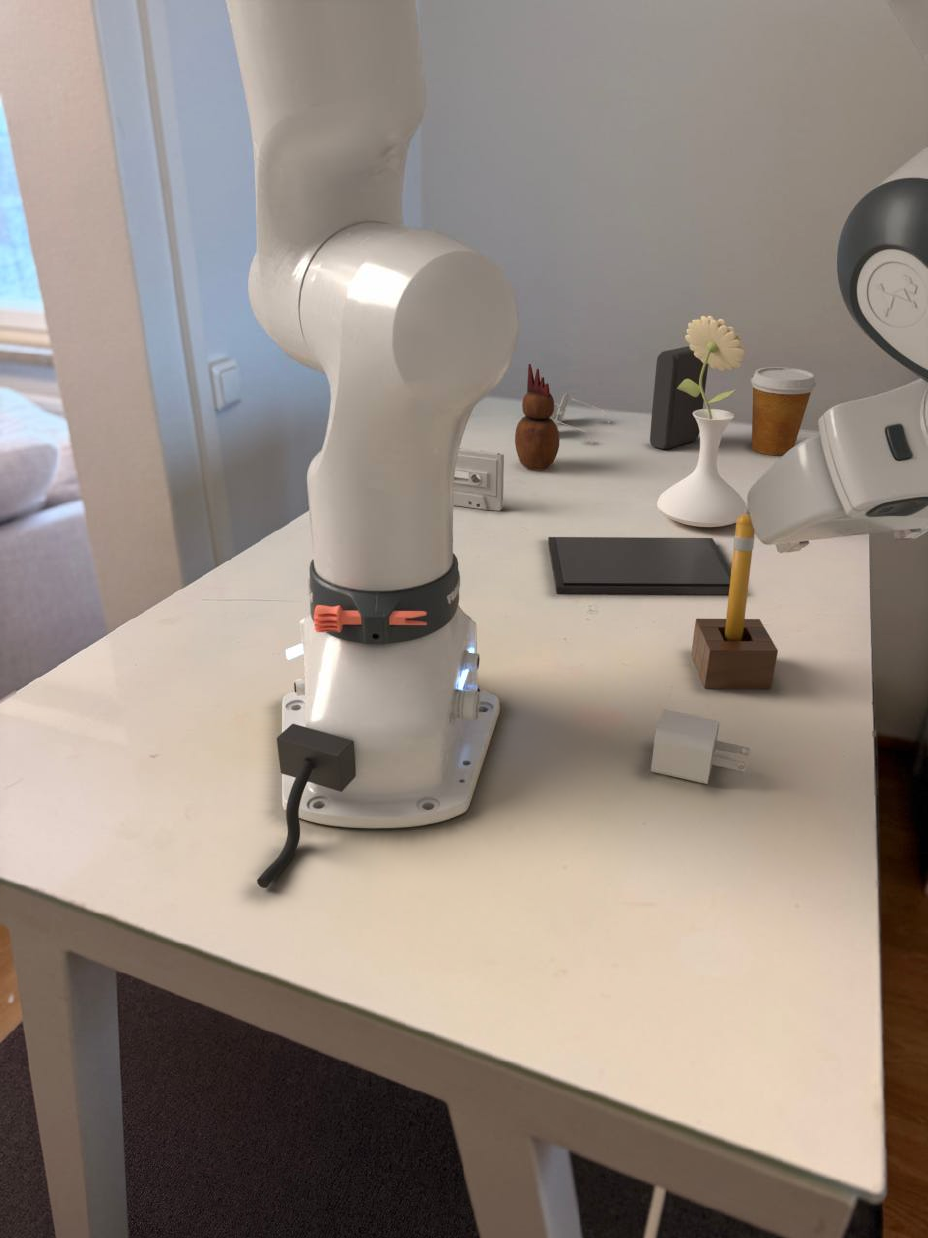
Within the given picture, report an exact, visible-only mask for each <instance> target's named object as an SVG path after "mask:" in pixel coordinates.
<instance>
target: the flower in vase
mask: <svg viewBox="0 0 928 1238" xmlns="http://www.w3.org/2000/svg"><path fill="white" fill-rule="evenodd" d="M687 327H688V328H687V329H686V335H684V337H685V340H686V342H687V343H688V344H689V345H688V346H689V347H690V349H691V350H692V351H694V355H695V356H696V357H697V358H699V359H700V360H701V361H702V363H704V364H703V367H702V370H701V374H700V378H699V385H697V384H696V383H695V382H693V381H692V380H690V379H685V380H684V381H683V382H682V383H681V384H680V385H679V386H678V388H677V389H679V390H682V391H684V392H686V393H688V394H690V395H692V396H693V397H697V396H698V395H699V394H700V392H701V394H702V397H703V399H704V404H705V407H706V408H703V409H700V410H696V411H694V412H693V416H694V417H695V419H696V421H697V423H698V426H699V431H700V432H699V454H698V461H697V464H696V466H695V469H694V470H693V472H691V473H690V474H689V475H688V476H686V477H685V478H683V479H681V480H679V481H678V482H675V483H674V484H673V485H671V486H670V487H669V488H667V489H666V490H665V491H663V492H662V493H661V494H660V495H659V498H658V499H657V502H656V506H657V508H658V510H659V511H660V513H661V514H662V515H663V516H664V517H666V518H668V519H670V520H672V521H675V522H677V523H680V524H684V525H687V526H692V527H698V528H719V527H726V526H729V525H733V524H736V522H737V519H738V518H739V517H740V516H742V515H745V514H748V506H747V504H746V502H745V500H744V499H743V497H742V496H741V495H740V493H739V492H737V490H735V489H734V488H733V487H732V486H731V485H730V484H729V483H728V482H726V480H724V479H723V478H722V476H721V475H720V473H719V471H718V465H717V463H718V454H719V449H720V448H719V447H720V444H721V440H722V437H723V435H724V432H725V430H726V428H727V427H728V425H729V424H730V423H731V421H732V420H733V419H734V418H735V414H734V413H733V412H731V411H728V410H724V409H719V408H711V407H710V404H712V403H717V402H719V401H722V400H725V399H726V398H727V397H729V396H730V395H732V394H733V393H734V391H735V389H733V390H730V391H725V392H721V393H719V394H717V395H716V396H714V397H713V398H712V399H710V400H709V401H708V399H707V396H706V394H704V391H703V387H702V377H703V373H704V370H705V367H706V364H708V365H709V366H710V368H711V369H712V370H718V371H721V372H726V370H728V371H732V370H733V369H739V368H741V367H742V364H741V362H743V361H744V356H745V354H746V352H745V345H744V344H743V343H741V340H742V336H741V334H739V333H735V332H736V330H735V328H734V327H733V326H727V324H726V321H725V319H723V318H719V319H718V320H716V319H714V316H711V315H708V316H705V315H701V316H700V318H697V319H693V320H692V321H691V322H688V324H687Z"/></svg>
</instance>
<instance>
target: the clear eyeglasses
mask: <svg viewBox="0 0 928 1238" xmlns="http://www.w3.org/2000/svg"><path fill="white" fill-rule="evenodd" d="M569 400H572V401H574V402H577V403H580V404H583V405H586V406H589V407H592V408H595V410H599V411H601V412H603V413H604V415H605V418H606V420H607V423H608V424H610V423H611V421H610V420H609V416H608V415H607V413H606V412H605V410H603V409H601V408H598V407H595V406H592V405H590V404H588V403H585V402H582V401H580V400H577V399H575V398H572V397H570V396H569V393H567V392H566V393H565V394H564V395H563V396H562V399H561V401H560V405H559V406H558V404H555V403H554V412H553V414H552V416H551V417H550V419H552V420H553V421H554V423H557V424H561V425H565V426H568V427H570V428H573V429H576V430H579V431H581V432H583V433H586V434H587V436H588V438H589V441H590V442H591V443H590V444H594V442H593V440H592V437H591V436H590V434H589V433H588V432H587V431H586V430H584V429H581V428H578V427H575V426H572V425H569V424H568V423H564V422H562V419H563V418H564V416H565V412H566V408H567V405H568V402H569Z"/></svg>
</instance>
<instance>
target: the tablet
mask: <svg viewBox="0 0 928 1238" xmlns="http://www.w3.org/2000/svg"><path fill="white" fill-rule="evenodd" d="M547 544H548V550H549V555H550V562H551V568H552V575H553V581H554V588H555V593H556V594H557V595H560V594H562V595H563V594H565V595H566V594H567V595H568V594H569V595H570V594H571V595H573V594H574V595H575V594H576V595H577V594H578V595H581V594H582V595H597V594H598V595H696V596H697V595H698V596H699V595H709V596H710V595H711V596H713V595H714V596H715V595H717V596H718V595H721V596H726V595H727V596H729V588H730V578H731V568H730V566H729V564H728V563H727V561H726V559H725V557H724V556H723V554H722V552H721V550H720V549H719V547H718V545H717V543H716V542H715V540H714V538H713V537H639V536H637V537H635V536H634V537H633V536H632V537H630V536H629V537H628V536H627V537H622V536H621V537H619V536H618V537H617V536H615V537H614V536H613V537H611V536H610V537H609V536H607V537H606V536H595V537H594V536H548V538H547Z"/></svg>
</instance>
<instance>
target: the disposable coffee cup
mask: <svg viewBox="0 0 928 1238" xmlns="http://www.w3.org/2000/svg"><path fill="white" fill-rule="evenodd" d="M750 382H751V386H752V418H751V420H752V421H751V426H752V427H751V429H752V430H751V449H752V450H753V451H755V452H757V453H758V454H763V455H768V456H783V455H784V454H785V453H787V452H788V451H789V450H790V449H791V448H793V447H794V446H796V442H797V439H798V435H799V432H800V430H801V426H802V423H803V421H804V420H803V419H804V418H805V417H804V416H805V413H806V410H807V407H808V403H809V401H810V397H811V394H812V392H813V390H814V388H815V387H816V386H817V383H816V382H815V375H814V373H812V372H810V371H808V370H804V369H800V368H794V367H785V366H769V367H761V368H758V369H756V370H755V372H754V374H753V377H752V378H750Z"/></svg>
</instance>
